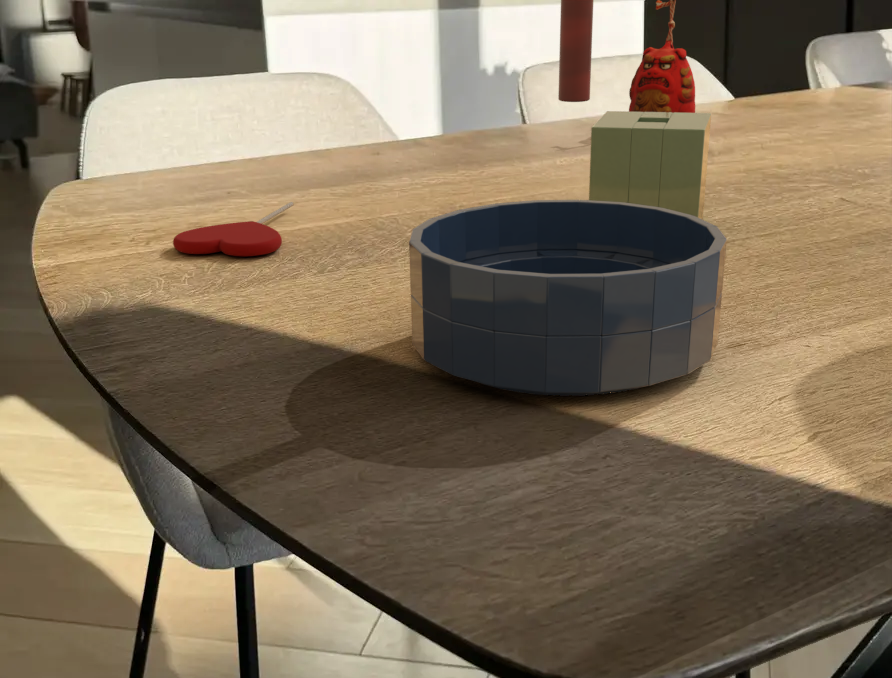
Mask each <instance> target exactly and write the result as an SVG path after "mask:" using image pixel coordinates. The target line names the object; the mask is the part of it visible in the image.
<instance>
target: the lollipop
mask: <svg viewBox="0 0 892 678" xmlns="http://www.w3.org/2000/svg"><path fill="white" fill-rule="evenodd" d="M294 205H295V203H294V202H293V201H290V202H288V203H286V204H284V205H283V206H281V207H279V208H277V209H276V210H274V211H273V212H271V213H269V214H267V215H266V216H264V217H262V218H260V219H259V220H257V221H253V220H249V221H238V222H228V223H222V224H214V225H207V226H202V227H197V228H192V229H188V230H185V231H182V232H180V233H178V234H176V235H175V236H174V237H173V240H172V245H173V247H174V249H175V250H176V251H178V252H180V253H184V254H188V255H189V254H190V255H207V254H214V253H218V252H222V253H223V254H225V255H226V256H227V255H228V256H233V257H254V256H262V255H267V254H271V253H273V252H276V251H277V250H279V249H280V248H281V246H282V244H283V240H282V236H281V234H280V232H279V231H278V230H276V229H275V228H272V227H271V226H269V225H266V224H264V223H266V222H268V221H270V220H271V219H273V218H275V217H277V216H278V215H280V214H282V213H283V212H285V211H287V210H288V209H290V208H292V207H293V206H294Z"/></svg>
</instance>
